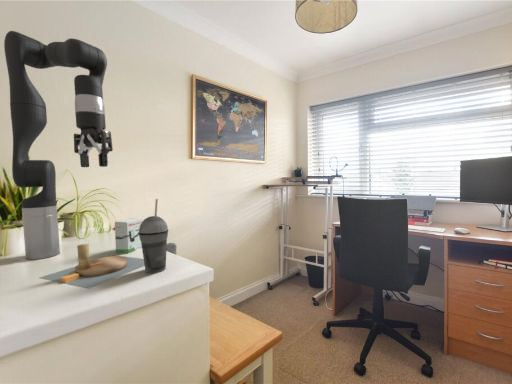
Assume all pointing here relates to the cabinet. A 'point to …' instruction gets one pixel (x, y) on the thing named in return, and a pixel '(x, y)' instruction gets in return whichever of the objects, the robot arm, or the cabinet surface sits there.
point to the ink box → (127, 235)
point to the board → (87, 282)
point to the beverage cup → (154, 242)
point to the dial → (97, 263)
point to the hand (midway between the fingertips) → (94, 166)
